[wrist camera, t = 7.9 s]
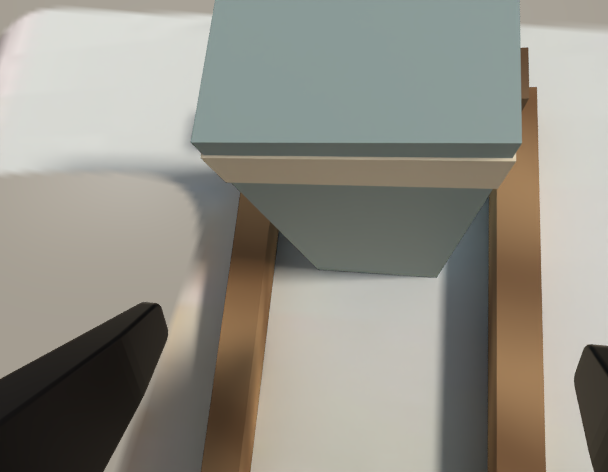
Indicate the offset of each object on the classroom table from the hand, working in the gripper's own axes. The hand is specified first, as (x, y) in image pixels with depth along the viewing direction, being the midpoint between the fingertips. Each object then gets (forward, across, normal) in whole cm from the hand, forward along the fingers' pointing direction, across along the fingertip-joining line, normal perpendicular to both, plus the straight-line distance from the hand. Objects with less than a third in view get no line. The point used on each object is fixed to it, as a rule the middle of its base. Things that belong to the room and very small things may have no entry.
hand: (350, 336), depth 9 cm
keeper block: (+10, 0, +2) cm, 10 cm away
